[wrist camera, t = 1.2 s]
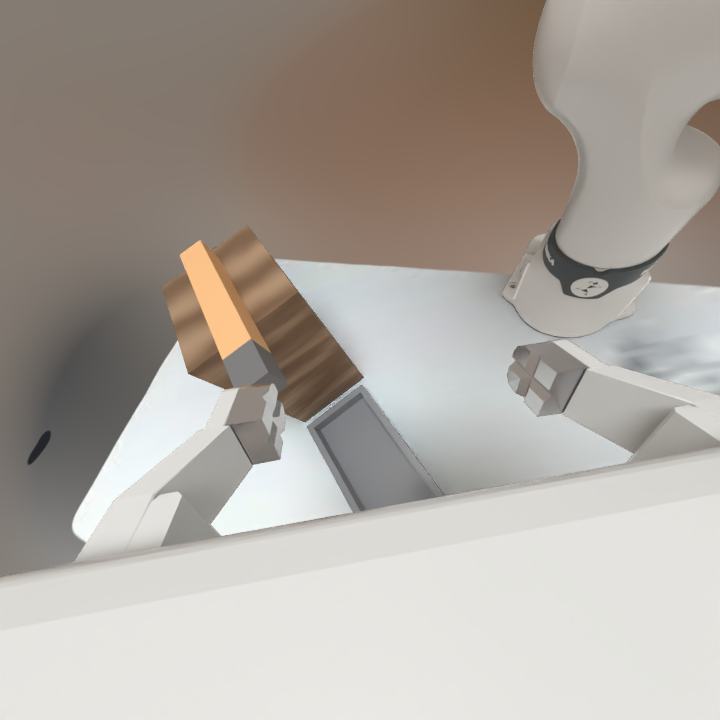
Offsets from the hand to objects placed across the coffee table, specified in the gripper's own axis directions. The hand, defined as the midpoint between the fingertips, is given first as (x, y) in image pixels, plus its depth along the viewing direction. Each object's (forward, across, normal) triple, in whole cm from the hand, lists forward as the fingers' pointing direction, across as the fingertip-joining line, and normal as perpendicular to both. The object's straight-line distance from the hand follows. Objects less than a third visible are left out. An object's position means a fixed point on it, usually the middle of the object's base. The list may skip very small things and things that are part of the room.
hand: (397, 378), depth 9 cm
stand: (+37, +8, +26) cm, 46 cm away
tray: (+15, -2, +34) cm, 38 cm away
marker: (+20, +13, +6) cm, 25 cm away
